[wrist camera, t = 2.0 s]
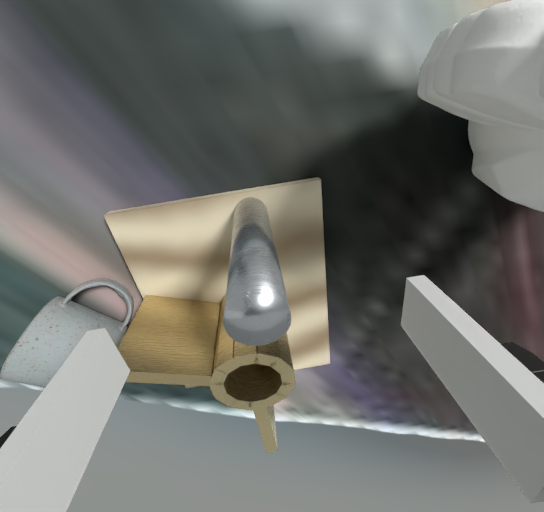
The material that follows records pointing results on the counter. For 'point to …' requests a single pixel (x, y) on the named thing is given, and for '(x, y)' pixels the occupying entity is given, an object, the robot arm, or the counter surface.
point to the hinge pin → (254, 279)
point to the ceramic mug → (60, 335)
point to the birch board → (216, 253)
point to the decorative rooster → (496, 93)
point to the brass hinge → (207, 357)
